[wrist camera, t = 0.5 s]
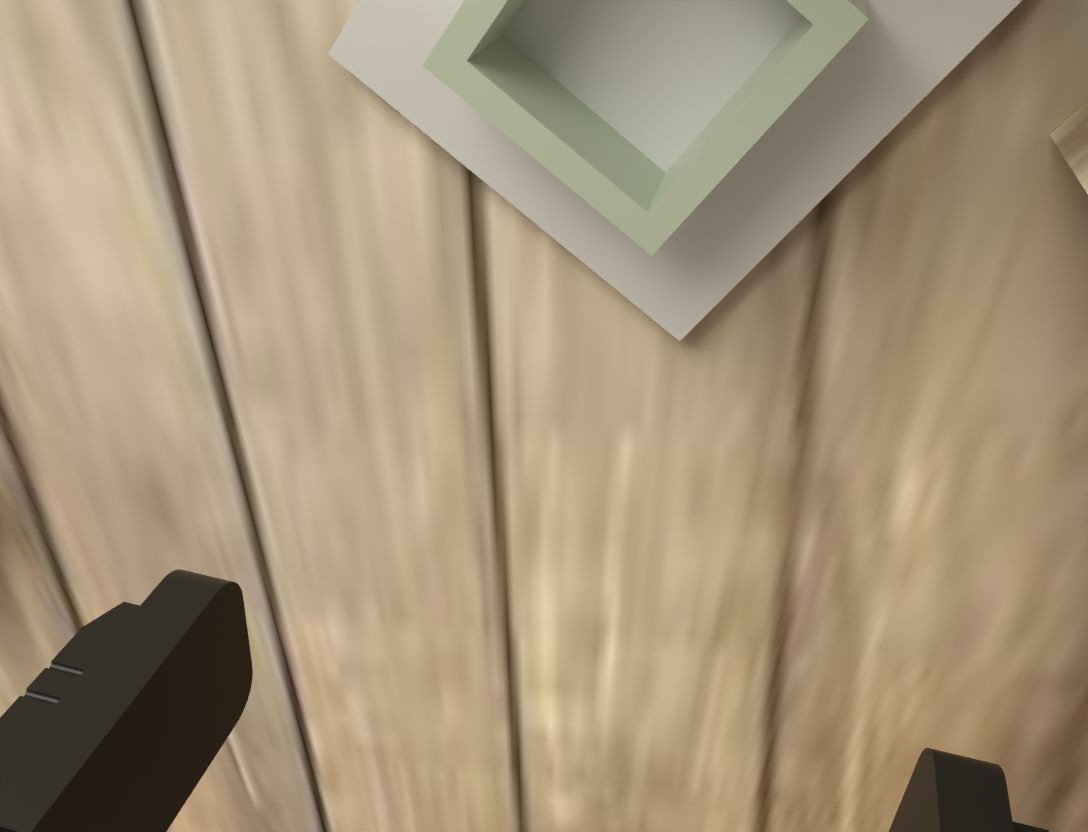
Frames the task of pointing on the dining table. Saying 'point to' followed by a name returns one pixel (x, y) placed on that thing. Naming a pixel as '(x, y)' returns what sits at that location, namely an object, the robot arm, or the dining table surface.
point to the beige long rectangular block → (1075, 143)
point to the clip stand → (661, 115)
